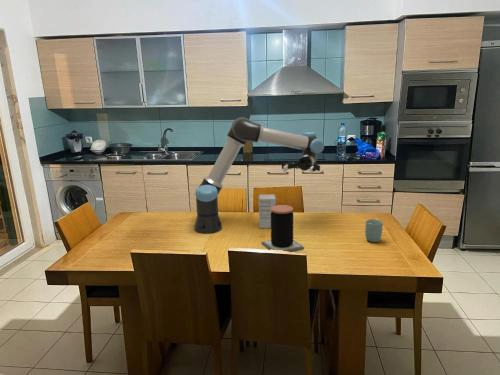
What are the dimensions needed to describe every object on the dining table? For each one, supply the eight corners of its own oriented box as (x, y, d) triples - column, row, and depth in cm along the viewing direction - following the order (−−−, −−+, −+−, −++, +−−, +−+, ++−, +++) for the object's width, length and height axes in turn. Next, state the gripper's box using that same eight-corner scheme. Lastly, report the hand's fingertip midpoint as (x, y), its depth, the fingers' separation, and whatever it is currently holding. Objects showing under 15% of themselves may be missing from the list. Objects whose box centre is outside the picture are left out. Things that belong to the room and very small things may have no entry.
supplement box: (276, 228, 202) (275, 198, 198) (259, 228, 202) (258, 199, 198) (275, 222, 211) (275, 194, 207) (259, 222, 211) (258, 194, 207)
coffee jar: (296, 241, 181) (296, 206, 176) (288, 249, 171) (288, 212, 167) (275, 238, 185) (275, 203, 180) (267, 246, 176) (267, 210, 171)
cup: (373, 245, 177) (374, 225, 175) (361, 239, 184) (362, 220, 182) (384, 241, 181) (386, 222, 178) (372, 236, 188) (374, 218, 185)
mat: (261, 243, 182) (261, 241, 182) (287, 238, 188) (287, 235, 188) (276, 255, 169) (276, 252, 168) (303, 249, 175) (303, 246, 174)
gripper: (328, 170, 201) (321, 179, 182) (284, 168, 210) (273, 176, 190) (328, 156, 199) (322, 164, 180) (284, 155, 208) (273, 161, 188)
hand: (297, 170), depth 185 cm, fingers open, 13 cm apart
